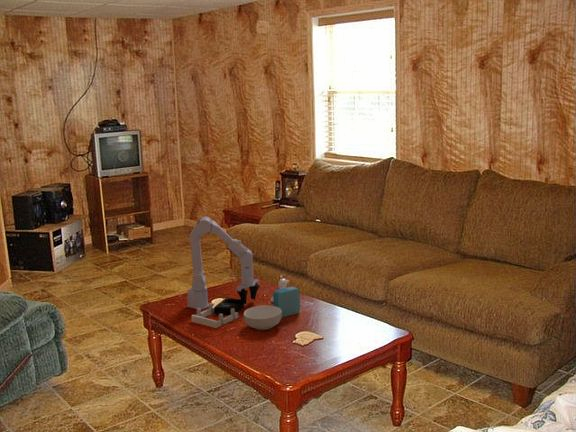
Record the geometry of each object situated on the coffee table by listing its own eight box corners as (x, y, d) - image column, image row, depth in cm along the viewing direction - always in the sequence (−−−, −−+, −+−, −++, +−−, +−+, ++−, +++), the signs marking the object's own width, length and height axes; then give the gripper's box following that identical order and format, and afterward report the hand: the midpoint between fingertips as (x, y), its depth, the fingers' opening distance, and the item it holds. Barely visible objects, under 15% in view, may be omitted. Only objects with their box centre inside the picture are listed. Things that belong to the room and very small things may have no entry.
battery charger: (233, 316, 295) (232, 308, 294) (214, 314, 298) (213, 306, 297) (244, 307, 307) (243, 299, 306) (226, 305, 310) (225, 297, 309)
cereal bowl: (260, 317, 293) (259, 302, 292) (289, 324, 284) (289, 309, 282) (236, 329, 280) (235, 314, 278) (266, 337, 270) (266, 321, 269)
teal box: (294, 309, 301) (294, 285, 299) (300, 312, 298) (299, 288, 295) (273, 315, 295) (272, 291, 292) (279, 318, 291) (278, 293, 288)
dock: (191, 321, 290) (190, 311, 289) (214, 311, 302) (213, 301, 301) (216, 328, 281) (216, 317, 280) (238, 317, 293) (238, 307, 292)
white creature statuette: (284, 297, 319) (283, 274, 317) (296, 301, 313) (295, 277, 311) (270, 301, 313) (269, 278, 311) (281, 305, 307) (281, 282, 305)
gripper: (244, 279, 300) (245, 307, 302) (263, 271, 311) (264, 298, 314) (232, 277, 304) (234, 304, 307) (252, 269, 315) (253, 295, 318)
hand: (248, 301), depth 310 cm, fingers open, 6 cm apart
